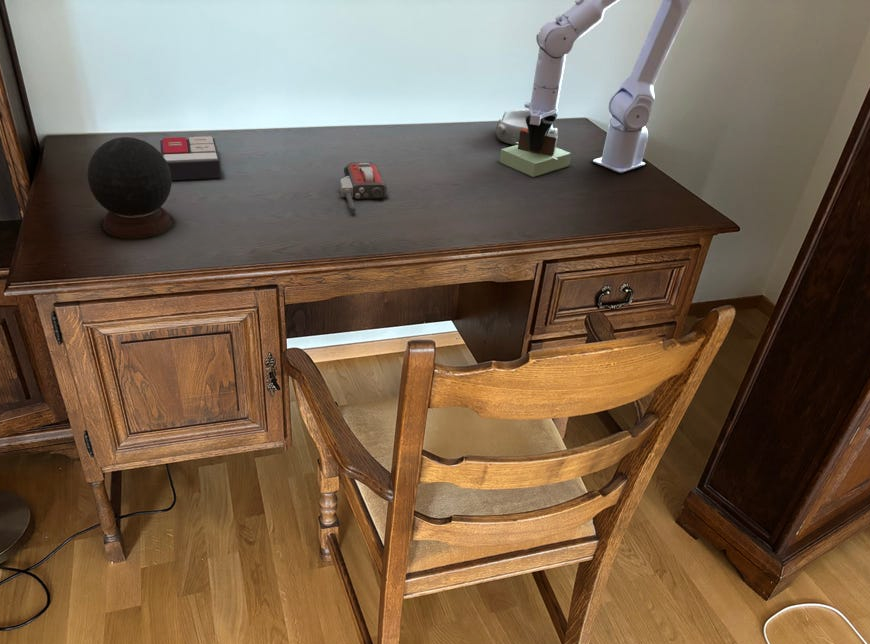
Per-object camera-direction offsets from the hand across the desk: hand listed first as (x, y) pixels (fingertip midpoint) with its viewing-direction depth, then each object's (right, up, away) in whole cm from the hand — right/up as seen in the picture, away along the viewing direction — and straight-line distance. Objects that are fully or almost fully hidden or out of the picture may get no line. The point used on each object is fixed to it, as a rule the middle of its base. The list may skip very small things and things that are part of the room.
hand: (536, 148), depth 164 cm
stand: (0, -3, +2) cm, 4 cm away
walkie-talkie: (-37, -14, -17) cm, 43 cm away
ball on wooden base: (-75, -23, -34) cm, 86 cm away
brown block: (0, 0, 0) cm, 1 cm away
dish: (-1, +7, +16) cm, 17 cm away
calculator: (-73, -7, -12) cm, 74 cm away
